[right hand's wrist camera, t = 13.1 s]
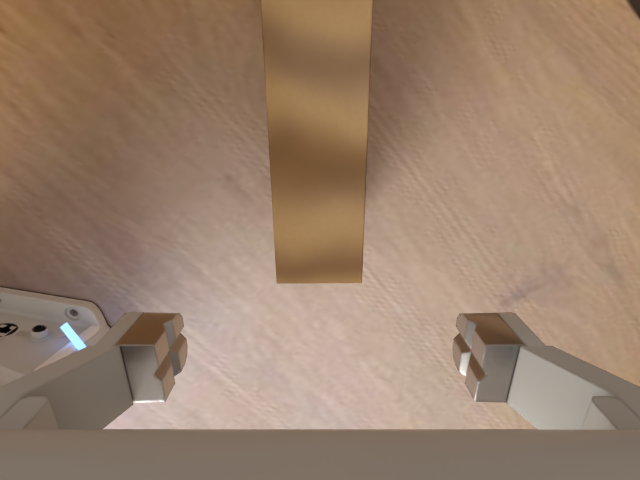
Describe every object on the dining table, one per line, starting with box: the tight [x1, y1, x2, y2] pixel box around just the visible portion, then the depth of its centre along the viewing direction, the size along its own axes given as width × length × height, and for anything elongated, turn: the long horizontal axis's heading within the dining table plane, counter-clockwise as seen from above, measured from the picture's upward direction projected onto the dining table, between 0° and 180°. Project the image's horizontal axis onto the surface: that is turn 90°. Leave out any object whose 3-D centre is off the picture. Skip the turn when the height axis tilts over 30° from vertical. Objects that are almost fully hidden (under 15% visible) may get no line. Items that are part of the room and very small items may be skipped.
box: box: [261, 0, 373, 283], centre depth 25 cm, size 28×6×13 cm, turn 0°
